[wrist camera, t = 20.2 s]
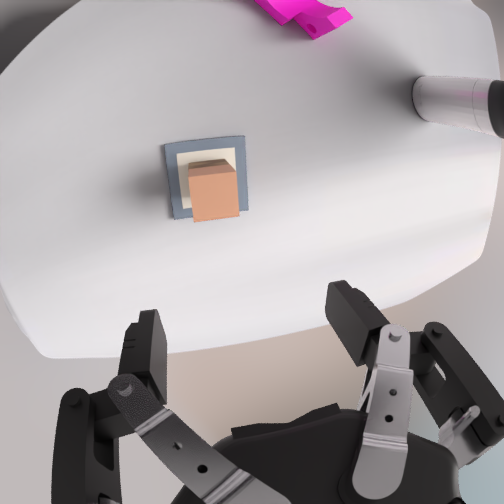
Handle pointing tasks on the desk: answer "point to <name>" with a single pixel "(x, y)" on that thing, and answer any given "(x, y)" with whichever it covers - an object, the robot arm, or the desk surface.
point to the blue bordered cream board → (203, 151)
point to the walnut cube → (207, 163)
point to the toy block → (307, 15)
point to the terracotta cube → (213, 192)
